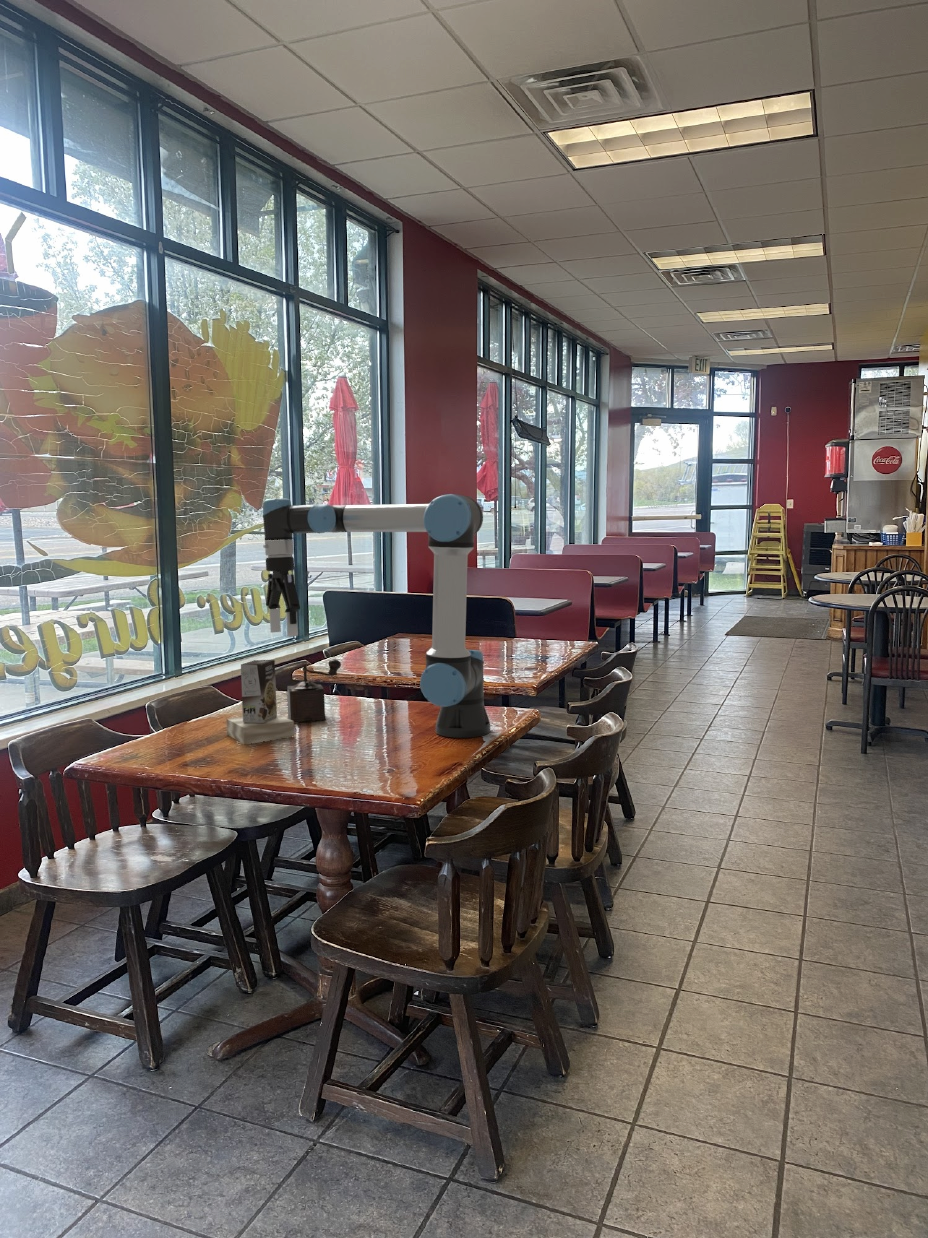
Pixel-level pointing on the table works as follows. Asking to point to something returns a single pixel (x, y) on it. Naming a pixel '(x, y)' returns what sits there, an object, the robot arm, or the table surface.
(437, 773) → the table surface
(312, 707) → the coffee grinder
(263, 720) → the coffee box
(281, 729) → the birch block
